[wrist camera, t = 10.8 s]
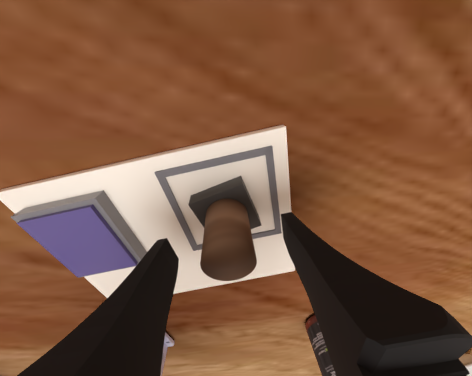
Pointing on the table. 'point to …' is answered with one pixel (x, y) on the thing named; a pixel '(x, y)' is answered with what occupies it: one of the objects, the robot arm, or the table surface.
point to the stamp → (226, 229)
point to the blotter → (183, 200)
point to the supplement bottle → (319, 347)
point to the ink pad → (83, 233)
